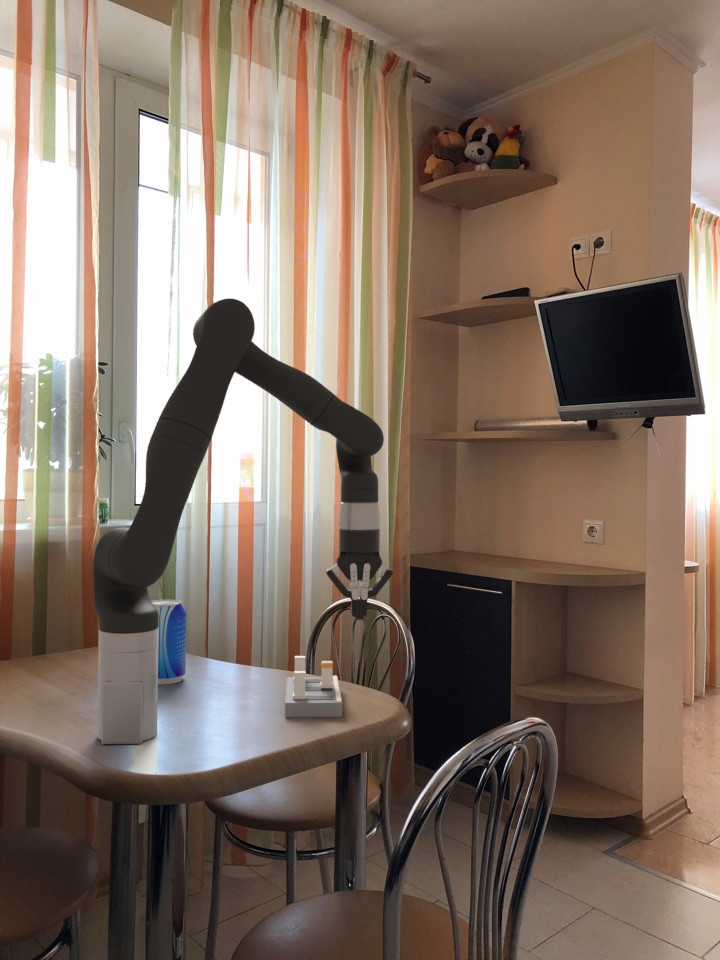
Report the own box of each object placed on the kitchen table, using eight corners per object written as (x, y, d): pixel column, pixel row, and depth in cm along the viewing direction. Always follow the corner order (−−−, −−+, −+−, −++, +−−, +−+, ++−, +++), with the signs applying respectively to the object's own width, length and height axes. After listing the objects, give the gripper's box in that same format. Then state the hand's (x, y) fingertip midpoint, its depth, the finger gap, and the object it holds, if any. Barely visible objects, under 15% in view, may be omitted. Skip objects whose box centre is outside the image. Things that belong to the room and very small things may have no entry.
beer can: (179, 686, 160) (180, 605, 160) (137, 685, 161) (138, 604, 160) (189, 675, 169) (190, 599, 169) (149, 674, 169) (150, 598, 169)
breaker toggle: (333, 687, 149) (333, 662, 149) (320, 687, 149) (320, 663, 149) (333, 685, 151) (333, 660, 151) (320, 685, 151) (320, 660, 151)
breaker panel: (342, 716, 141) (342, 675, 141) (284, 717, 141) (285, 676, 141) (337, 689, 159) (338, 653, 159) (286, 690, 159) (287, 653, 158)
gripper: (324, 528, 146) (324, 623, 147) (397, 527, 147) (396, 622, 148) (323, 525, 154) (322, 616, 154) (392, 525, 155) (391, 615, 155)
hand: (359, 619), depth 151 cm, fingers closed
